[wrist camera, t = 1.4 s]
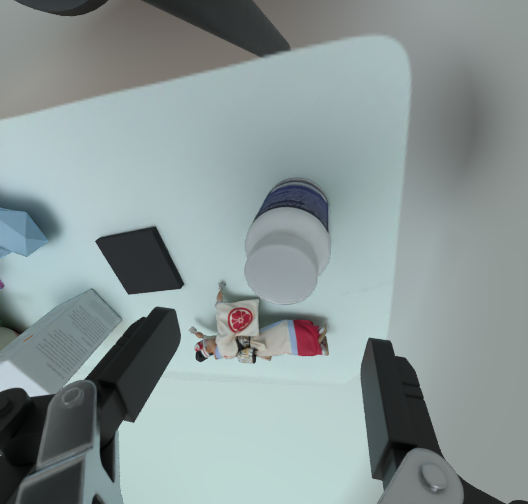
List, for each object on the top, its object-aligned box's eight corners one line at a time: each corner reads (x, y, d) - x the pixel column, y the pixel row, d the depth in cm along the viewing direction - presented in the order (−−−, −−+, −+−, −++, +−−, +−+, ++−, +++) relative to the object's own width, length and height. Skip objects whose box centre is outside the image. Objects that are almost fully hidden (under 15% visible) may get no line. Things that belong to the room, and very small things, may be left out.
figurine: (322, 276, 27) (176, 284, 28) (330, 367, 25) (174, 369, 27) (319, 282, 32) (198, 288, 34) (325, 355, 31) (197, 358, 33)
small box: (86, 334, 38) (14, 408, 29) (56, 305, 36) (-33, 375, 27) (123, 320, 35) (54, 399, 26) (92, 287, 33) (5, 361, 24)
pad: (100, 237, 29) (94, 241, 28) (155, 226, 26) (150, 230, 26) (132, 290, 32) (128, 294, 31) (184, 284, 30) (180, 288, 29)
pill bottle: (257, 184, 22) (217, 240, 14) (323, 169, 21) (321, 222, 13) (274, 242, 25) (248, 318, 17) (334, 232, 23) (339, 311, 15)
